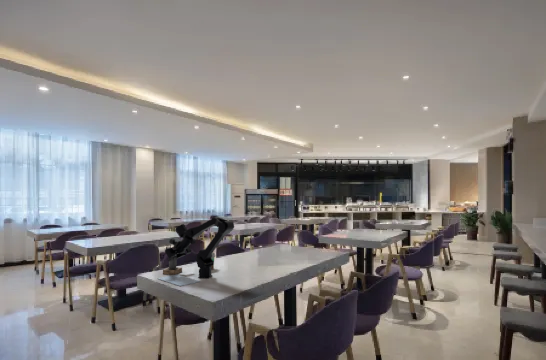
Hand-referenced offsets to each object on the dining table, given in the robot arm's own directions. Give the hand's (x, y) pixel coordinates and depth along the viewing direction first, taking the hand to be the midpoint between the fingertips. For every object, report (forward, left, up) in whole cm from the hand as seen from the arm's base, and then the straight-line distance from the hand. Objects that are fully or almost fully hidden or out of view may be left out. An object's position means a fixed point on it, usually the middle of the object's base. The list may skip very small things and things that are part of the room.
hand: (171, 259), depth 198 cm
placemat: (-14, +18, -8) cm, 24 cm away
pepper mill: (-1, 0, -7) cm, 7 cm away
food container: (-20, -15, -8) cm, 26 cm away
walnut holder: (-1, 0, -8) cm, 8 cm away
